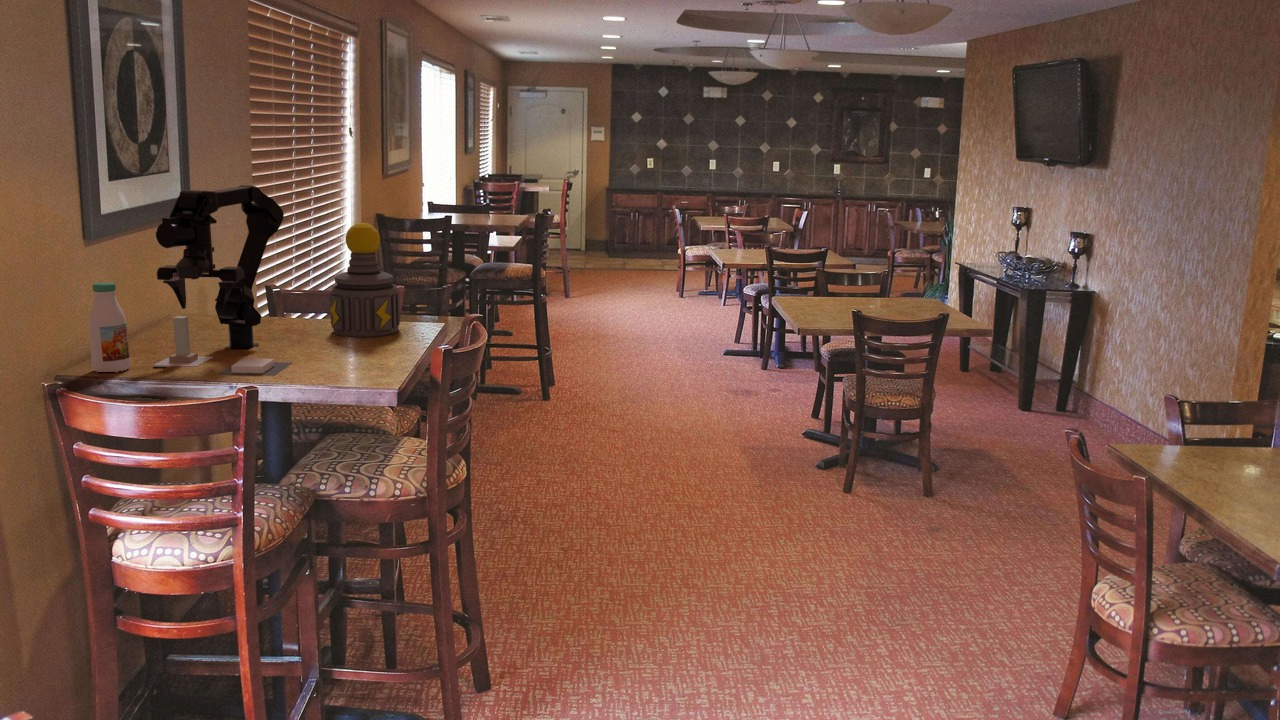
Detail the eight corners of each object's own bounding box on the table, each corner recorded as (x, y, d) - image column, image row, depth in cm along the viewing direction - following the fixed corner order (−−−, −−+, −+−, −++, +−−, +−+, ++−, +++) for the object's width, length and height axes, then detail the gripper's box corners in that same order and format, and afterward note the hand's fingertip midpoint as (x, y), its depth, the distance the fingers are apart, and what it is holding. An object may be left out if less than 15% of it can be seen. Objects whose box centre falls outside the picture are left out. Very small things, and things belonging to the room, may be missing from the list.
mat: (238, 363, 245) (238, 361, 245) (293, 364, 245) (293, 362, 245) (216, 376, 233) (216, 374, 232) (274, 377, 233) (274, 375, 233)
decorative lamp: (354, 341, 273) (349, 227, 267) (317, 330, 286) (312, 221, 279) (414, 332, 287) (411, 223, 280) (377, 322, 299) (373, 218, 293)
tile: (244, 358, 241) (231, 365, 233) (274, 358, 241) (262, 366, 233) (244, 365, 241) (231, 373, 233) (274, 366, 241) (262, 374, 233)
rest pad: (171, 358, 249) (171, 355, 249) (213, 359, 249) (213, 356, 249) (152, 367, 239) (152, 365, 239) (196, 368, 239) (196, 366, 239)
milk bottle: (89, 374, 232) (80, 286, 227) (96, 367, 239) (88, 281, 234) (127, 373, 234) (119, 285, 229) (133, 365, 241) (125, 280, 237)
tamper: (177, 358, 246) (173, 315, 244) (198, 359, 246) (194, 315, 244) (169, 362, 242) (165, 318, 240) (190, 363, 242) (187, 318, 240)
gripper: (143, 246, 236) (148, 314, 239) (225, 248, 236) (229, 316, 240) (164, 241, 247) (169, 306, 250) (243, 243, 247) (247, 307, 250)
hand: (203, 309), depth 247 cm, fingers open, 9 cm apart
